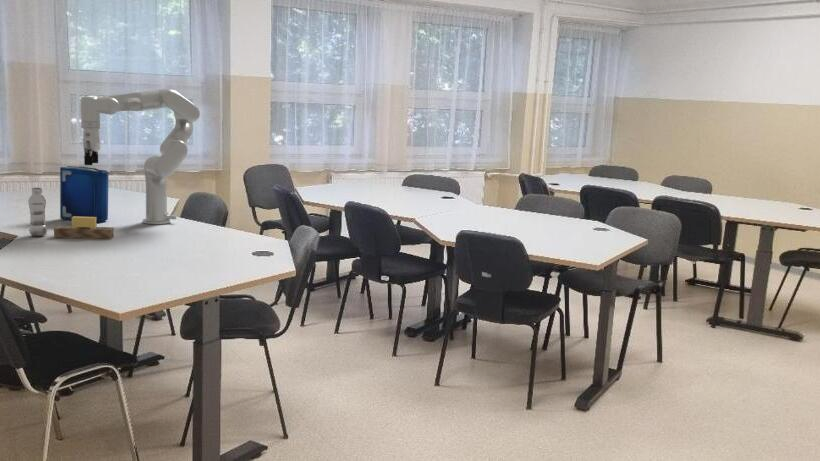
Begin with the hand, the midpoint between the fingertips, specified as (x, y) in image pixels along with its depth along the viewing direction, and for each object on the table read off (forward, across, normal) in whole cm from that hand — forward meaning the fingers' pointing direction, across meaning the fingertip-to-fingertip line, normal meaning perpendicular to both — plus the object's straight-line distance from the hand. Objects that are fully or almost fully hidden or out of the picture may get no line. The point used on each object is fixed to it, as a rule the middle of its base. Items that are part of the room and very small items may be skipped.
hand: (91, 164), depth 320 cm
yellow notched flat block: (+28, -25, -3) cm, 38 cm away
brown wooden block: (+28, -25, -3) cm, 38 cm away
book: (+28, +15, +7) cm, 33 cm away
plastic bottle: (+28, -25, +15) cm, 41 cm away
